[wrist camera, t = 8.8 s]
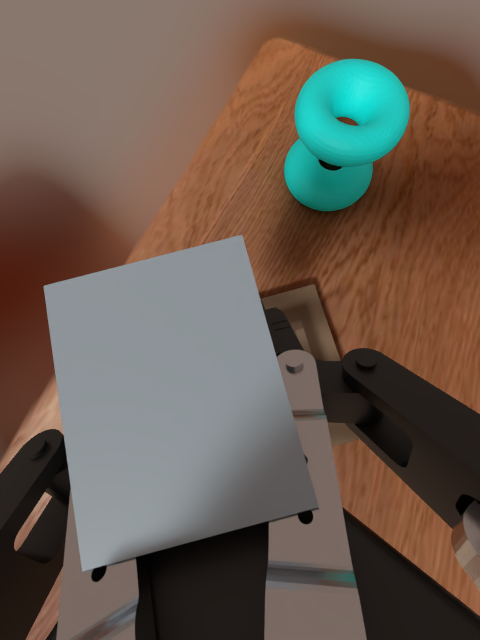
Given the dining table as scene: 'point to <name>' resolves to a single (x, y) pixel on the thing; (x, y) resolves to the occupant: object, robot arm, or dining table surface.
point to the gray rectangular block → (172, 404)
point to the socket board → (311, 337)
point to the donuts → (344, 131)
